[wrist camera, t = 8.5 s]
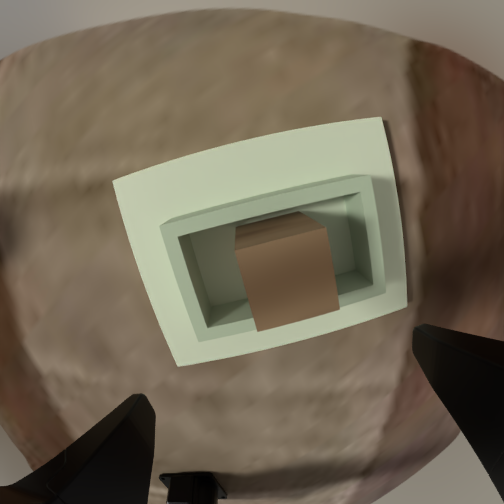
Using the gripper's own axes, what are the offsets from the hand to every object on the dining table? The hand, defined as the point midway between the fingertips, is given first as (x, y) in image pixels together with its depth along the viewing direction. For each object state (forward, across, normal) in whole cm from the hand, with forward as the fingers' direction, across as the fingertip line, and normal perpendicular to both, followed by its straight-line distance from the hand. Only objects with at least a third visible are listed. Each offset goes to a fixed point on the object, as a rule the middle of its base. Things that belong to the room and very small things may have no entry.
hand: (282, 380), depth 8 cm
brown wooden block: (+11, -1, -1) cm, 11 cm away
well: (+12, -1, -1) cm, 12 cm away
